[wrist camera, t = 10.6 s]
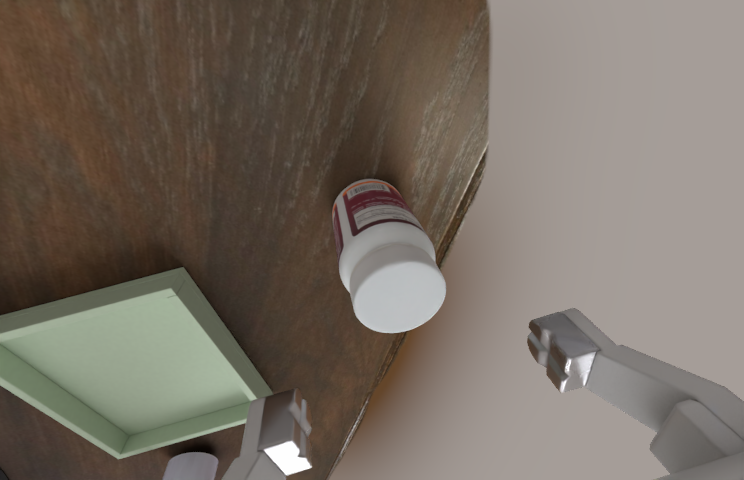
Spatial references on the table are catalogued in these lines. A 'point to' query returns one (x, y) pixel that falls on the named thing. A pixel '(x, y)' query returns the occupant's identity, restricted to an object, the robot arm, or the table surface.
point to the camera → (2, 476)
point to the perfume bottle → (191, 467)
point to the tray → (130, 364)
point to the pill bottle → (385, 258)
